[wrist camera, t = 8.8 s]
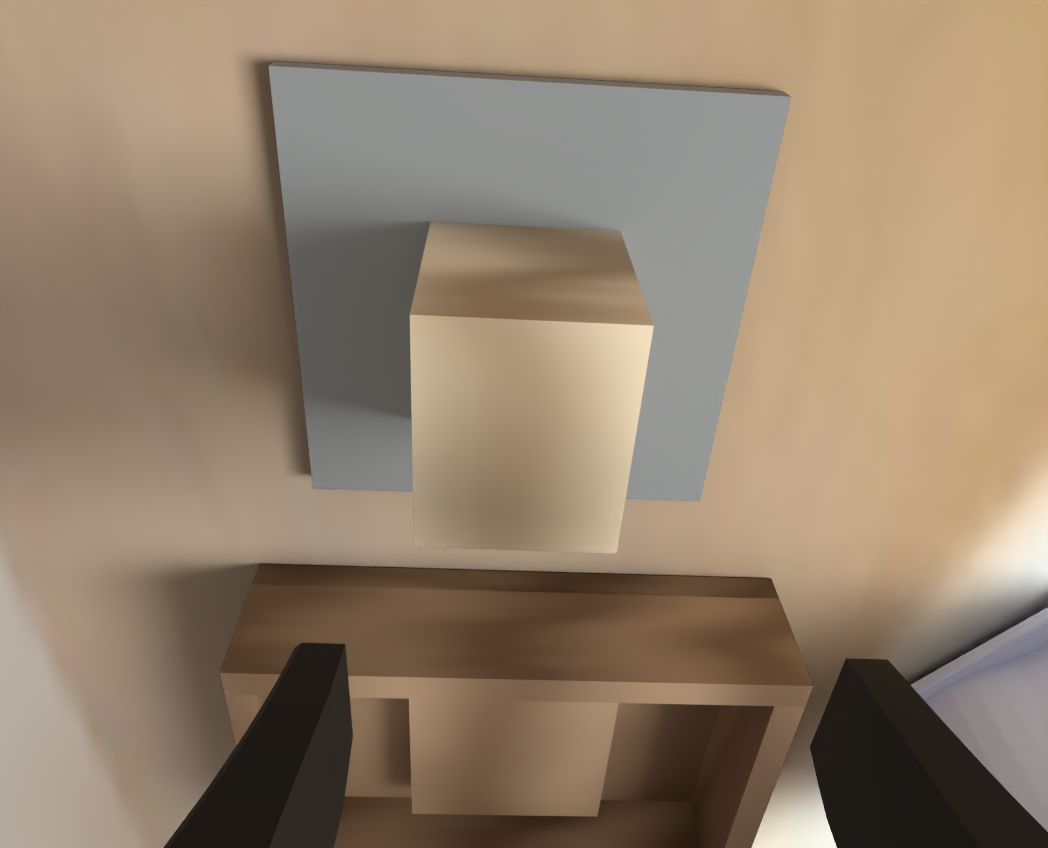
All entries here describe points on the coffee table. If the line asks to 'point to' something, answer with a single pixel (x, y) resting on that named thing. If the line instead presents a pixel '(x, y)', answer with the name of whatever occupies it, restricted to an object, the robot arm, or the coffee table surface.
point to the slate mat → (519, 200)
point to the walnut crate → (539, 702)
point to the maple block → (524, 387)
